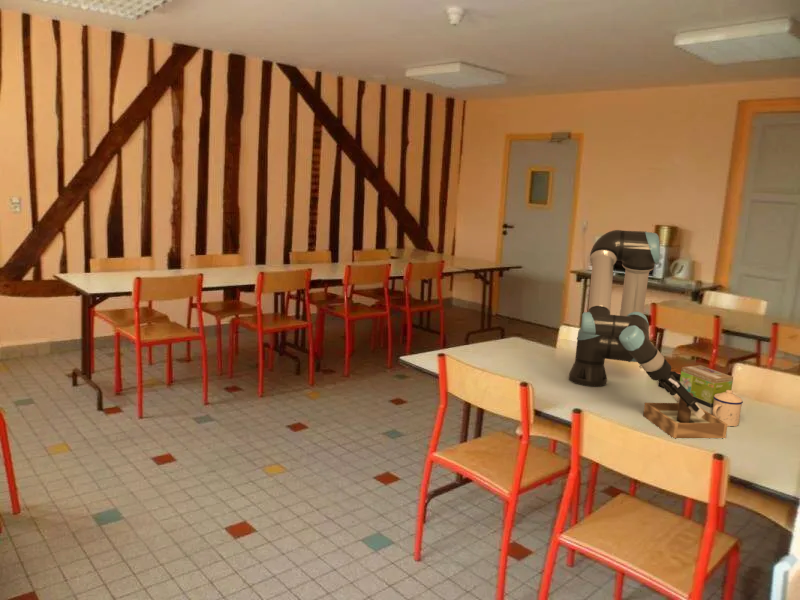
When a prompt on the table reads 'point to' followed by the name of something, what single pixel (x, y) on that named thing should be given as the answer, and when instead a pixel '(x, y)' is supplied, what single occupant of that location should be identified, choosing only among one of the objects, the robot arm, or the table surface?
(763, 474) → the table surface
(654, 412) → the oak box
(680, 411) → the walnut dowel
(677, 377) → the digital camera
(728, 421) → the teacup with lid
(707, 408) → the tea box
